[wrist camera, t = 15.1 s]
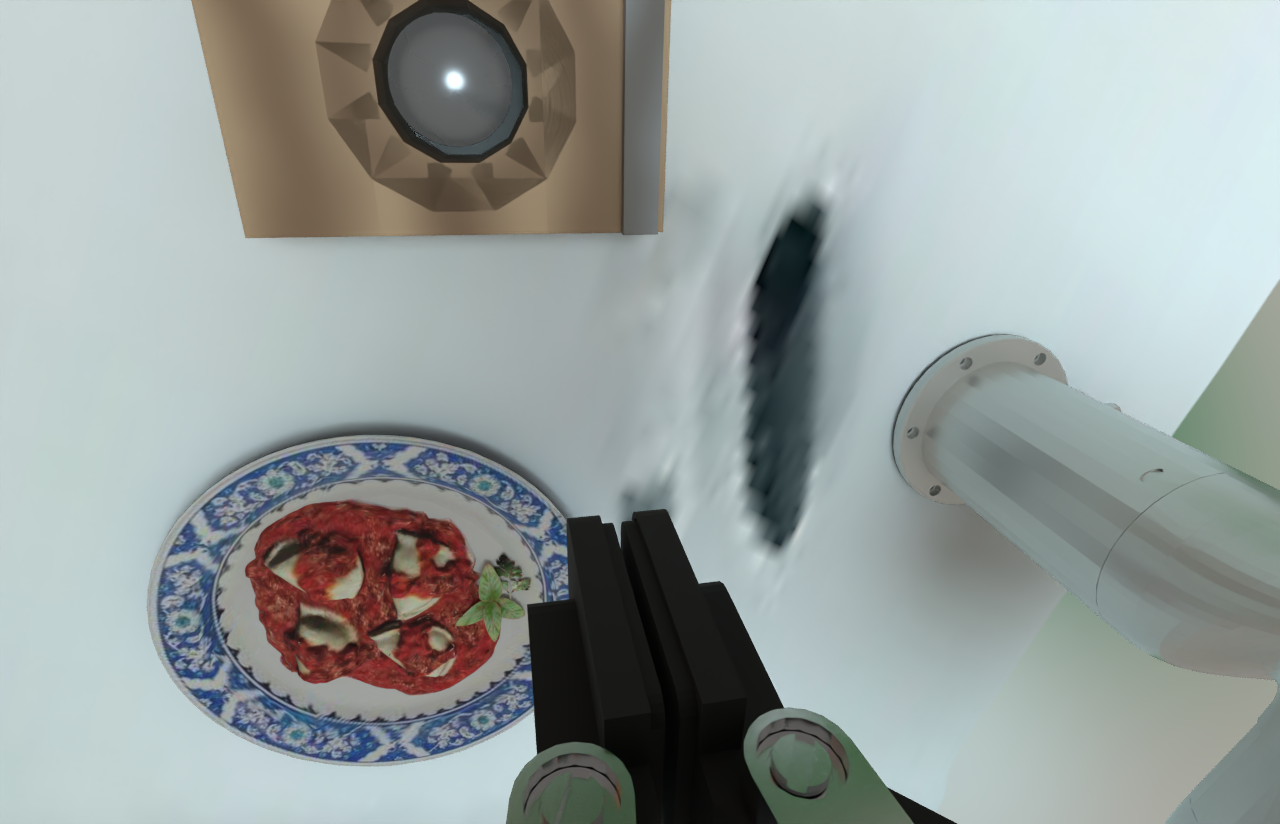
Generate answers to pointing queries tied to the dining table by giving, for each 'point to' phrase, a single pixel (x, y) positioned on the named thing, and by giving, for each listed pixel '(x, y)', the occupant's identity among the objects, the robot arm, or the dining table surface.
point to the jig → (413, 169)
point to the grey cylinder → (449, 79)
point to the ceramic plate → (359, 599)
